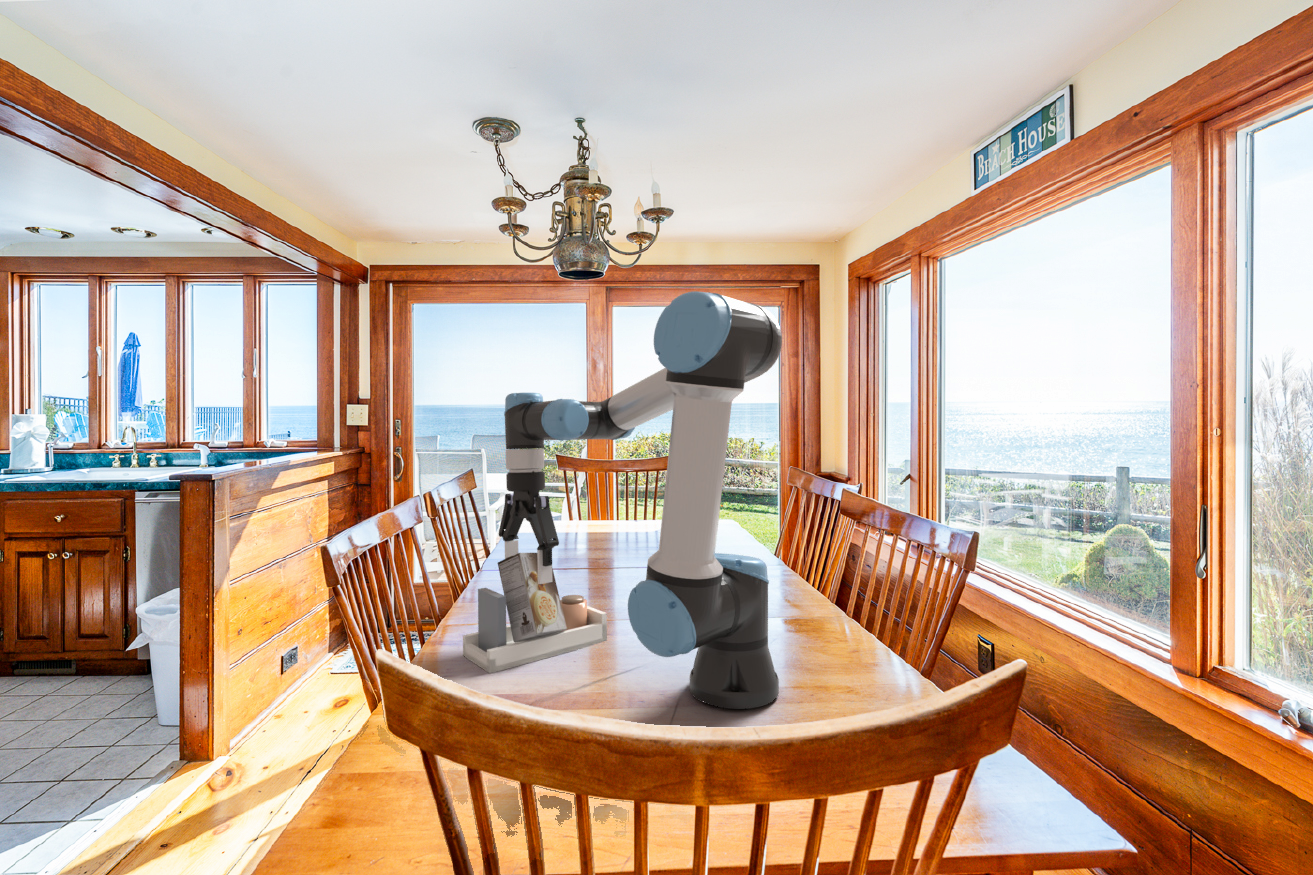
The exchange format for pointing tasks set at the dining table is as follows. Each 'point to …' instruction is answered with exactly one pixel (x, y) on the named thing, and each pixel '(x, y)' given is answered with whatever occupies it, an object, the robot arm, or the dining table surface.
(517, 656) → the white rectangular tray
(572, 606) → the jar
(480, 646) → the block
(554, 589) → the coffee box
